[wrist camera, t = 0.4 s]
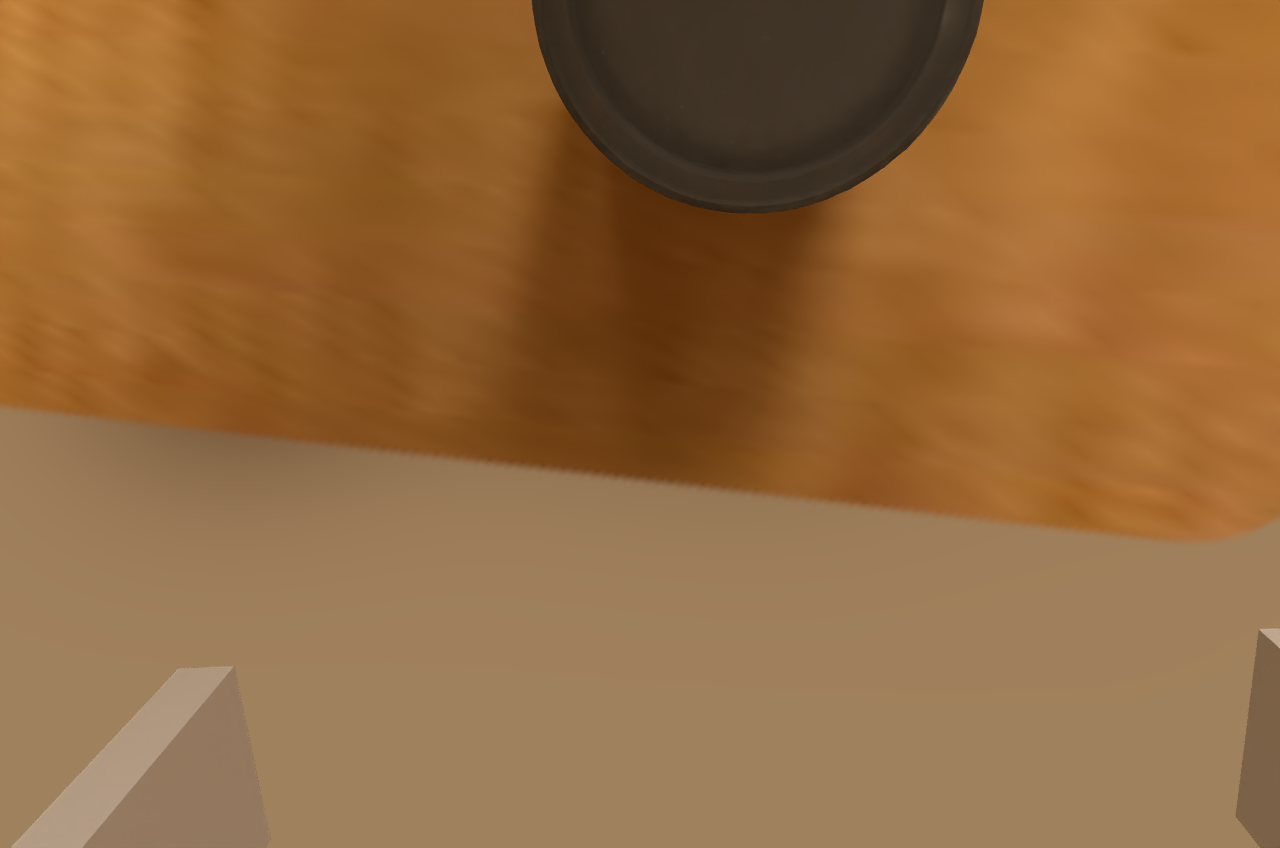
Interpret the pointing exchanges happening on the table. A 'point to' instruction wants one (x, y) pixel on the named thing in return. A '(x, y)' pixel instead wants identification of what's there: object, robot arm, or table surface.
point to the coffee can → (754, 89)
